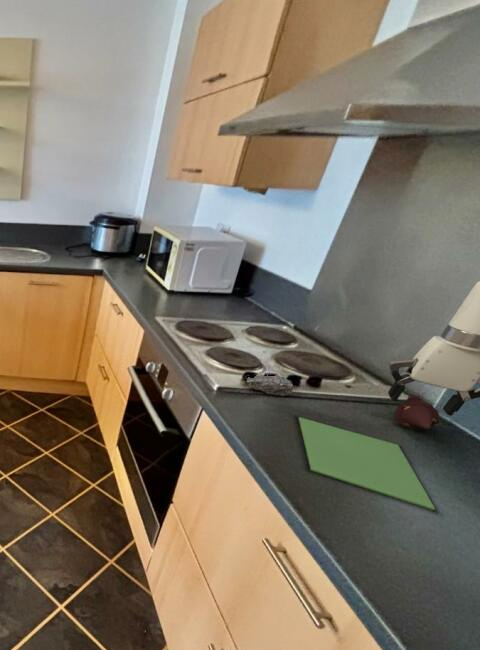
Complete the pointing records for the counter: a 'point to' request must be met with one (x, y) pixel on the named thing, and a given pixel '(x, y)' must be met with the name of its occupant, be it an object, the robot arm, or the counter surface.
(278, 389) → the rock
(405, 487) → the cloth
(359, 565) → the counter surface
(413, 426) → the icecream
